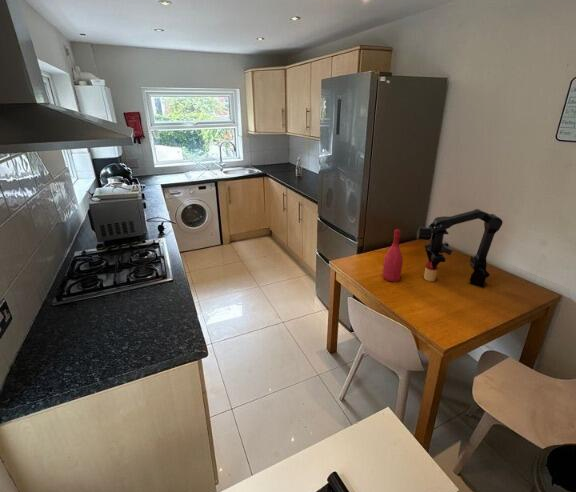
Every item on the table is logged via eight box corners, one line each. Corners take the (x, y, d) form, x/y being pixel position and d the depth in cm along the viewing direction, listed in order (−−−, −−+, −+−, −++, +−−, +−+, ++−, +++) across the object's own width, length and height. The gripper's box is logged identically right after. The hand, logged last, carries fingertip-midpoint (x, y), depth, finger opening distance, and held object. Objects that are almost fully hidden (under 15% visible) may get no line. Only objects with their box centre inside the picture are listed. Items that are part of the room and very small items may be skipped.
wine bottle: (402, 282, 168) (410, 232, 157) (384, 282, 168) (391, 232, 157) (396, 273, 177) (403, 226, 166) (380, 273, 177) (386, 226, 167)
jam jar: (436, 278, 172) (439, 264, 170) (433, 282, 168) (436, 268, 165) (425, 274, 176) (428, 261, 173) (422, 278, 172) (424, 265, 169)
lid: (439, 267, 170) (440, 264, 169) (436, 271, 165) (436, 268, 165) (427, 263, 174) (427, 260, 173) (423, 267, 169) (424, 264, 169)
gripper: (458, 248, 154) (452, 275, 159) (447, 235, 171) (442, 259, 177) (435, 247, 156) (430, 273, 161) (426, 233, 173) (422, 258, 178)
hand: (432, 265), depth 169 cm, fingers open, 7 cm apart
